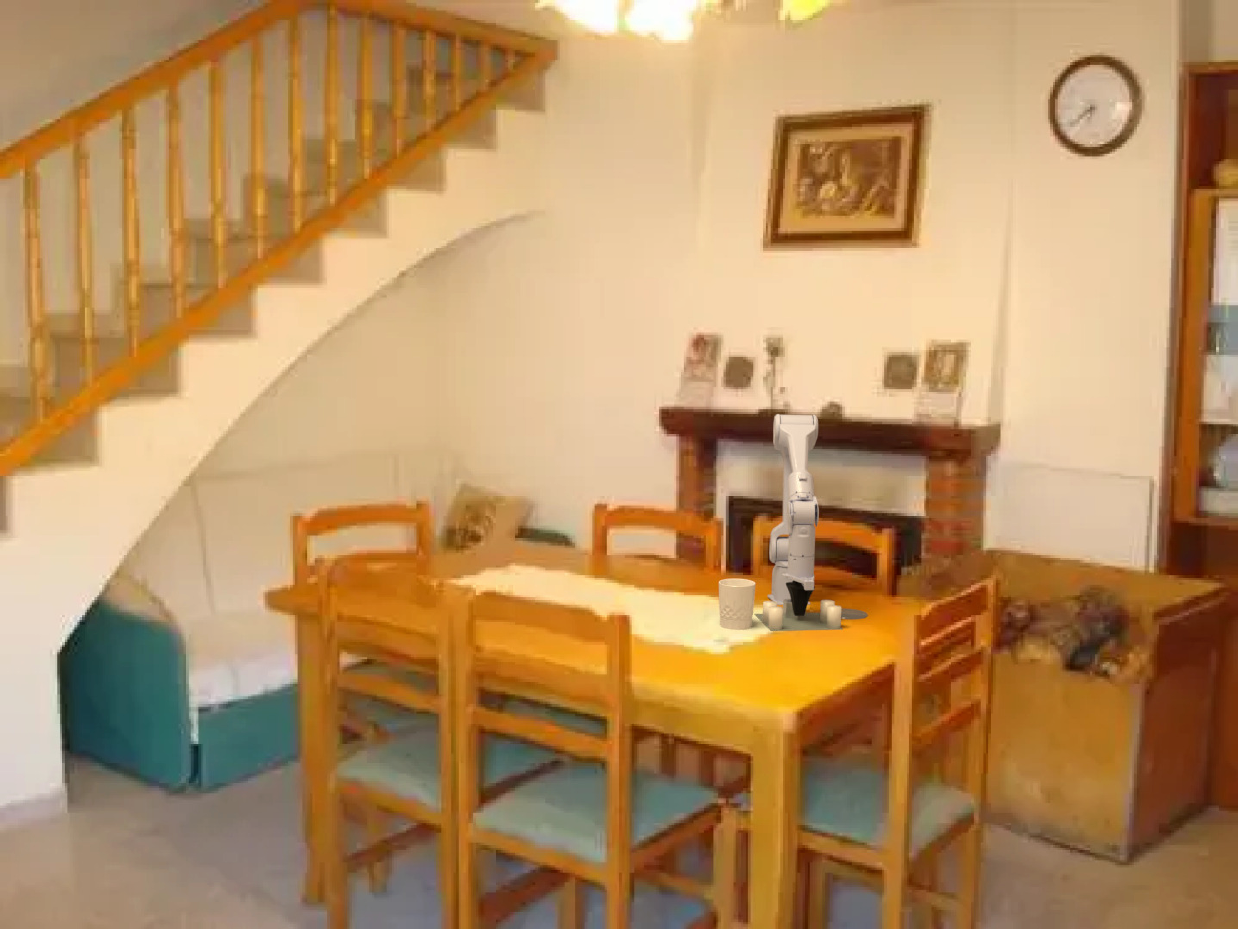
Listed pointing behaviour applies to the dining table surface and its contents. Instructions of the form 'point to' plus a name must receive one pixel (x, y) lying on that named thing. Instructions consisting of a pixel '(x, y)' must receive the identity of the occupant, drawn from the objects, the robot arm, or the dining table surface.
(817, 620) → the mat
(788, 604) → the faceted crystal gem
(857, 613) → the grey round coaster
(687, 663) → the dining table surface
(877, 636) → the dining table surface
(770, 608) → the beige capsules
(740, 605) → the white cup
